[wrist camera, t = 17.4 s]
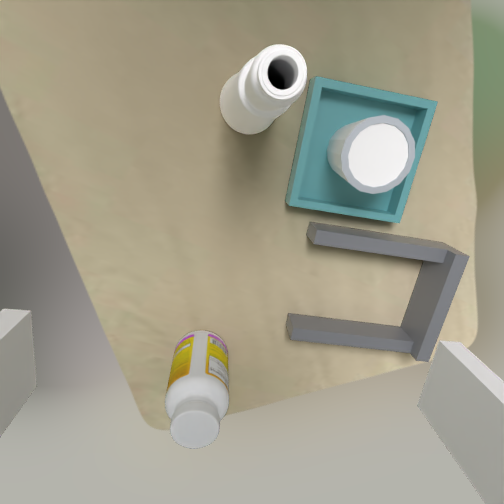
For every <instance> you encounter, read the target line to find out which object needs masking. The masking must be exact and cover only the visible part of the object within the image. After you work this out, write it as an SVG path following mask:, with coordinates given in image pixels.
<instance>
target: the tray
mask: <svg viewBox="0 0 504 504" xmlns="http://www.w3.org/2000/svg"><path fill="white" fill-rule="evenodd" d="M437 103H438V102H437V101H432V100H427V99H423V98H418V97H413V96H408V95H403V94H399V93H394V92H389V91H384V90H380V89H375V88H370V87H365V86H361V85H356V84H351V83H346V82H341V81H337V80H332V79H327V78H322V77H318V76H316V77H314V78H312V79H310V82H309V87H308V92H307V97H306V102H305V107H304V112H303V116H302V121H301V126H300V131H299V136H298V141H297V146H296V150H295V155H294V160H293V165H292V170H291V175H290V180H289V184H288V189H287V194H286V199H285V201H286V203H287V204H288V205H289V206H295V207H301V208H307V209H313V210H320V211H326V212H332V213H338V214H344V215H351V216H357V217H363V218H369V219H376V220H382V221H388V222H394V223H400V220H401V217H402V214H403V211H404V208H405V204H406V201H407V198H408V195H409V192H410V189H411V185H412V182H413V179H414V176H415V173H416V169H417V166H418V163H419V160H420V157H421V154H422V150H423V147H424V144H425V141H426V138H427V134H428V131H429V128H430V125H431V122H432V119H433V115H434V112H435V109H436V106H437ZM381 115H386V116H390V117H393V118H397V119H399V120H400V121H401V122H402V123H404V124H405V125H406V126H407V127H408V128H409V129H410V132H411V134H412V136H413V139H414V141H415V158H414V161H413V164H412V167H411V169H410V172H409V173H408V174H407V176H406V177H405V178H404V179H403V180H402V182H401V183H400V184H399V185H397V186H395V187H394V188H392V189H390V190H389V191H387V192H382V193H376V194H370V193H366V192H362V191H359V190H358V189H356V188H355V187H354V186H352V185H351V184H350V183H349V182H347V181H346V180H345V179H344V178H342V177H341V176H340V175H339V174H337V173H336V172H335V171H334V170H332V168H331V166H330V164H329V162H328V158H327V148H328V144H329V141H330V139H331V138H332V136H333V135H334V133H335V132H336V131H337V130H339V129H340V128H342V127H343V126H345V125H348V124H351V123H354V122H357V121H360V120H363V119H366V118H370V117H376V116H381Z"/></svg>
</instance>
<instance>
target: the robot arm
mask: <svg viewBox="0 0 504 504" xmlns="http://www.w3.org/2000/svg"><path fill="white" fill-rule="evenodd" d="M36 387H37V382H36V369H35V357H34V344H33V330H32V317H31V311H29V310H15V309H3V310H1V311H0V437H1V435H2V434H3V433H4V431H5V430H6V428H7V427H8V426H9V424H10V423H11V421H12V420H13V419H14V417H15V416H16V414H17V413H18V412H19V410H20V409H21V408H22V406H23V404H24V403H25V402H26V401H27V399H28V398H29V396H30V395H31V394H32V392H33V391H34V389H35V388H36ZM417 406H418V408H419V409H420V410H421V412H422V413H423V415H424V416H425V418H426V419H427V421H428V422H429V423H430V425H431V426H432V427H433V429H434V430H435V432H436V433H437V435H438V436H439V438H440V439H441V440H442V442H443V443H444V445H445V446H446V448H447V449H448V451H449V452H450V454H451V455H452V456H453V458H454V459H455V461H456V462H457V464H458V465H459V466H460V468H461V469H462V471H463V472H464V474H465V475H466V477H467V478H468V479H469V481H470V482H471V484H472V485H473V487H474V488H475V489H476V491H477V492H478V494H479V495H480V497H481V498H482V499H483V501H484V502H485V504H504V382H503V381H502V380H501V379H500V378H499V377H498V376H497V375H496V374H495V373H494V372H493V371H491V370H490V369H489V368H488V367H487V366H486V365H485V364H484V363H483V362H482V361H480V360H479V359H478V358H477V357H476V356H475V355H474V354H472V352H471V351H469V350H468V349H467V348H466V347H465V346H464V345H463V344H462V343H461V342H452V341H439V343H438V346H437V349H436V352H435V355H434V358H433V361H432V364H431V367H430V370H429V372H428V376H427V379H426V381H425V384H424V387H423V390H422V393H421V396H420V399H419V402H418V405H417Z"/></svg>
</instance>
